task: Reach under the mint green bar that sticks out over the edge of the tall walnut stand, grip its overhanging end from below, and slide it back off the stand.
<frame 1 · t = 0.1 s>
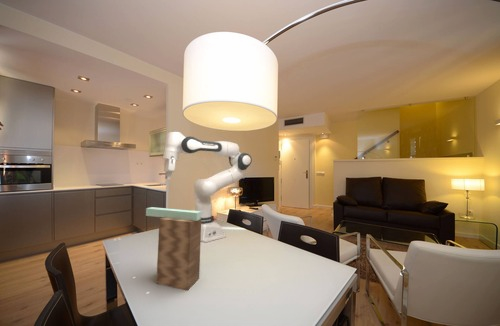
hand: (167, 179, 114), 39 cm above the table, tool pointing down, fingers open, 8 cm apart
walnut stand: (178, 281, 75), on the table
mint green bar: (172, 217, 77), point 25 cm above the table, touching walnut stand
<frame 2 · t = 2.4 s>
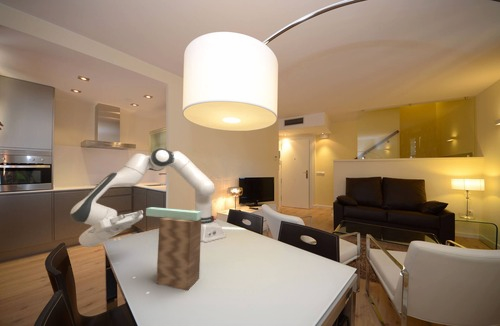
hand: (132, 213, 82), 25 cm above the table, tool pointing upward, fingers open, 8 cm apart
nothing on the table moved.
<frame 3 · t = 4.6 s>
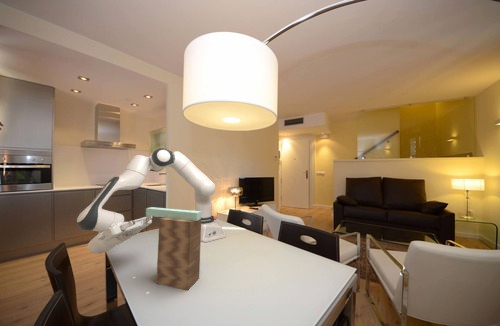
hand: (142, 219, 81), 23 cm above the table, tool pointing upward, fingers open, 8 cm apart
nothing on the table moved.
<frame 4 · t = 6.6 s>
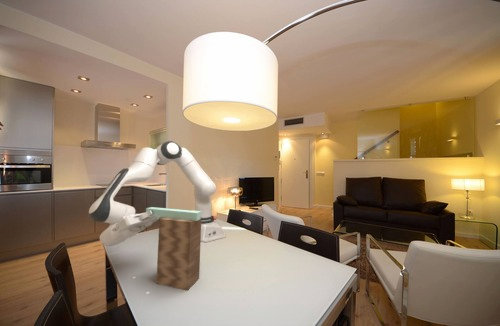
hand: (156, 210, 79), 27 cm above the table, tool pointing upward, fingers closed on mint green bar, 3 cm apart
mint green bar: (172, 217, 77), point 25 cm above the table, touching gripper, walnut stand
everything else where it was.
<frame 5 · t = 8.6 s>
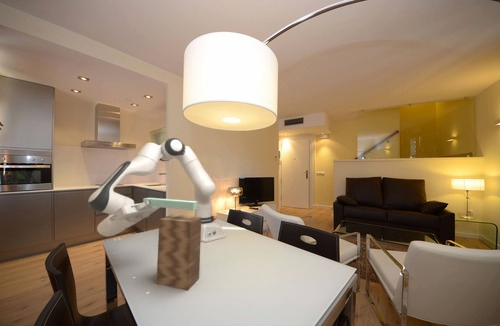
hand: (153, 201, 80), 31 cm above the table, tool pointing upward, fingers closed on mint green bar, 3 cm apart
mint green bar: (169, 207, 77), point 29 cm above the table, touching gripper
everything else where it was.
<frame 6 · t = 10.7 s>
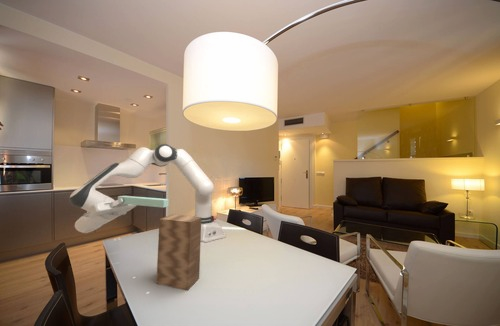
hand: (127, 199, 83), 31 cm above the table, tool pointing upward, fingers closed on mint green bar, 3 cm apart
mint green bar: (142, 204, 81), point 29 cm above the table, touching gripper
everything else where it was.
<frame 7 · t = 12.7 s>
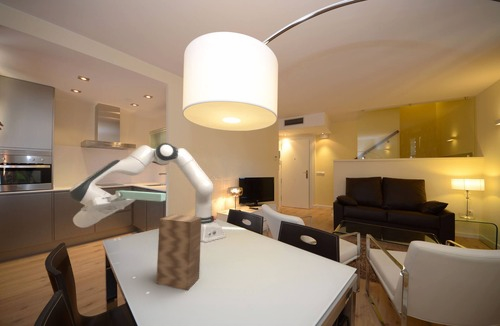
hand: (125, 193, 84), 33 cm above the table, tool pointing upward, fingers closed on mint green bar, 3 cm apart
mint green bar: (139, 199, 81), point 31 cm above the table, touching gripper
everything else where it was.
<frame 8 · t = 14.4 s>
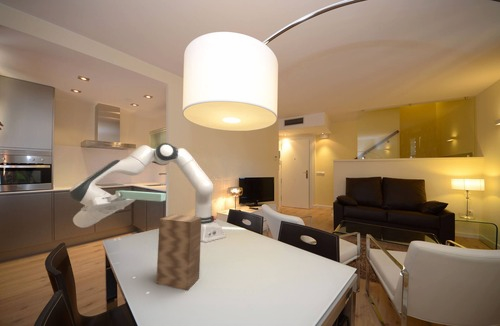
hand: (125, 193, 84), 33 cm above the table, tool pointing upward, fingers closed on mint green bar, 3 cm apart
mint green bar: (139, 199, 81), point 31 cm above the table, touching gripper
everything else where it was.
at the end: mint green bar touching gripper; the gripper is holding mint green bar; mint green bar moved 18.1 cm from its start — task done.
